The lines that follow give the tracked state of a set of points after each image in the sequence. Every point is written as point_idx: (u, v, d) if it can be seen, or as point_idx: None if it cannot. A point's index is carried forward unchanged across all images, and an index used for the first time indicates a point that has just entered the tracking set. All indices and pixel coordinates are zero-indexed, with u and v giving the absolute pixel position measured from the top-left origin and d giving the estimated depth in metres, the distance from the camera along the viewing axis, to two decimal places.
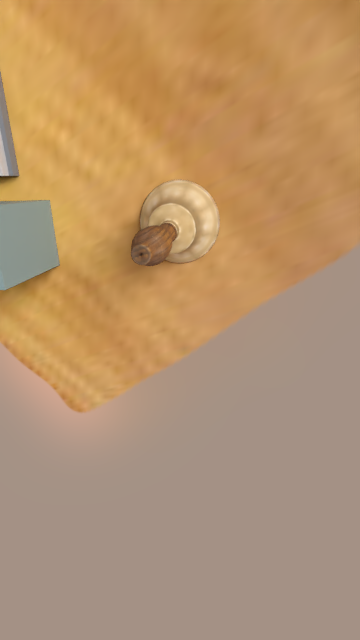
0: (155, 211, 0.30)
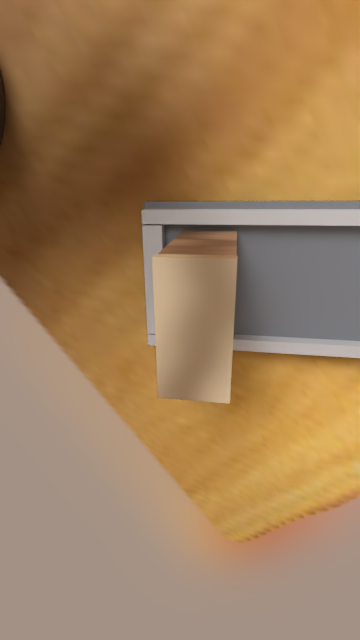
0: None
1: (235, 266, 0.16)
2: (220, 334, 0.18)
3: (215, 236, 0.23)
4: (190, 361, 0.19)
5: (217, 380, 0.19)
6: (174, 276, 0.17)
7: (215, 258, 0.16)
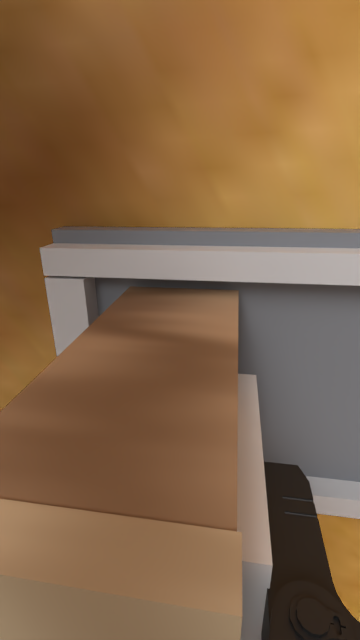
0: None
1: None
2: None
3: (188, 317, 0.10)
4: None
5: None
6: None
7: (130, 592, 0.03)
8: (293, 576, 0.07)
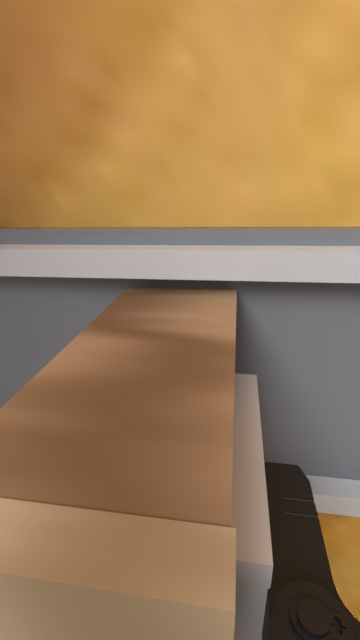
0: None
1: (225, 636, 0.03)
2: None
3: (186, 317, 0.10)
4: None
5: None
6: None
7: (124, 587, 0.03)
8: (294, 576, 0.07)
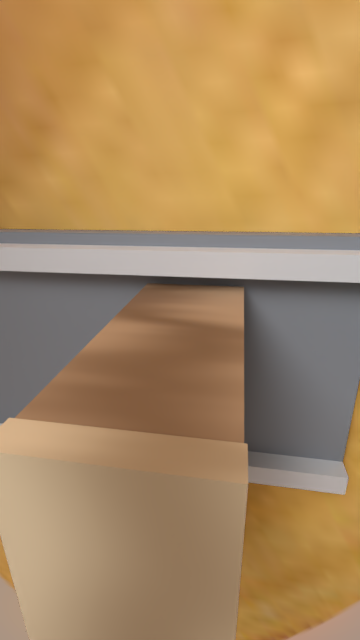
0: None
1: (241, 504, 0.05)
2: None
3: (201, 308, 0.12)
4: None
5: None
6: (51, 504, 0.05)
7: (173, 472, 0.05)
8: None
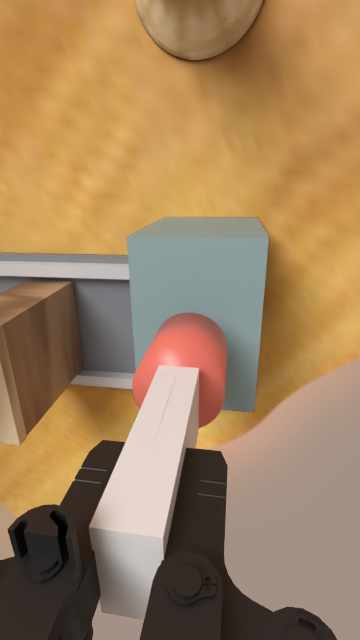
0: None
1: None
2: None
3: (37, 291, 0.26)
4: None
5: (5, 426, 0.22)
6: None
7: None
8: (189, 549, 0.07)
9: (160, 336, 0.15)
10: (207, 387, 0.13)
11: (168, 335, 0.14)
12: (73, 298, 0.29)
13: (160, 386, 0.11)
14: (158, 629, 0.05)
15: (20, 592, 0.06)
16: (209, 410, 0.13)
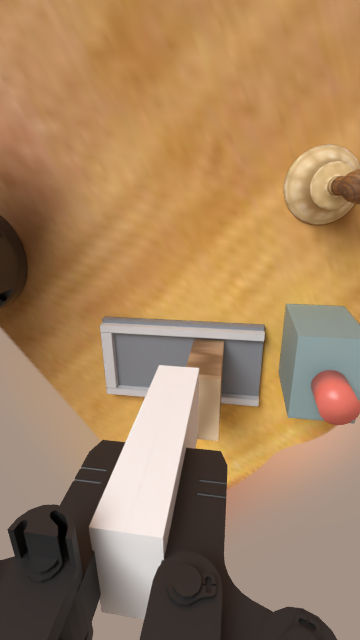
0: (315, 200, 0.34)
1: (219, 382, 0.37)
2: (213, 410, 0.38)
3: (211, 349, 0.43)
4: (199, 420, 0.39)
5: (212, 430, 0.39)
6: None
7: (211, 379, 0.37)
8: (189, 549, 0.07)
9: (325, 383, 0.33)
10: (353, 406, 0.32)
11: (331, 383, 0.33)
12: (223, 350, 0.46)
13: (160, 386, 0.11)
14: (158, 629, 0.05)
15: (19, 592, 0.06)
16: (352, 416, 0.32)
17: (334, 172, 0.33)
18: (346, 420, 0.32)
